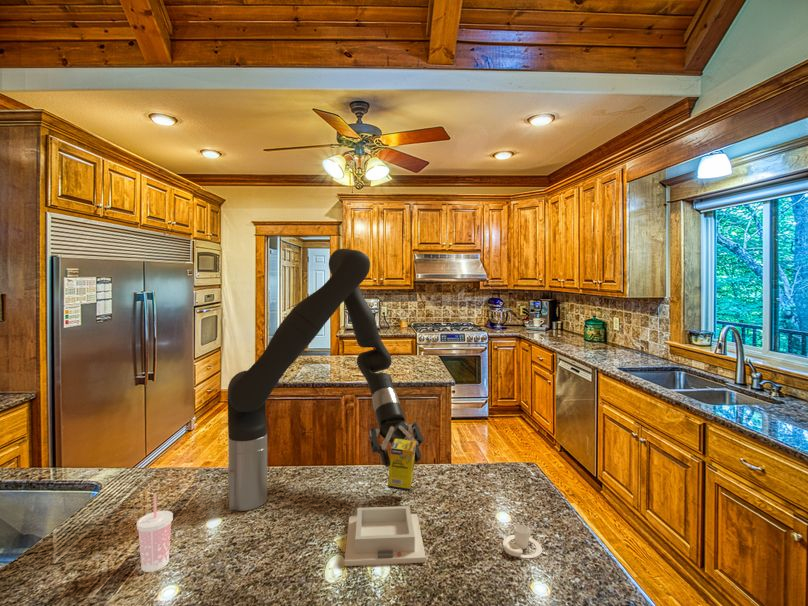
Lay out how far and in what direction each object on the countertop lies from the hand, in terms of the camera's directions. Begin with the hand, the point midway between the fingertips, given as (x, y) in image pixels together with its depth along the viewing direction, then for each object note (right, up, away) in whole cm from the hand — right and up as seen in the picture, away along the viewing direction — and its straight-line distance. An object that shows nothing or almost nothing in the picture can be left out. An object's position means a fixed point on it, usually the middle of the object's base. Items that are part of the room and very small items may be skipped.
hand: (403, 463), depth 104 cm
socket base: (-4, -10, -17) cm, 20 cm away
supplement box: (-1, -6, +1) cm, 6 cm away
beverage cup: (-49, -10, -25) cm, 56 cm away
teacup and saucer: (+22, -11, -18) cm, 30 cm away
